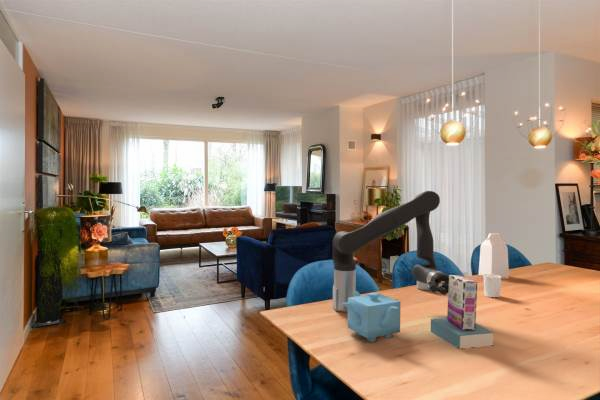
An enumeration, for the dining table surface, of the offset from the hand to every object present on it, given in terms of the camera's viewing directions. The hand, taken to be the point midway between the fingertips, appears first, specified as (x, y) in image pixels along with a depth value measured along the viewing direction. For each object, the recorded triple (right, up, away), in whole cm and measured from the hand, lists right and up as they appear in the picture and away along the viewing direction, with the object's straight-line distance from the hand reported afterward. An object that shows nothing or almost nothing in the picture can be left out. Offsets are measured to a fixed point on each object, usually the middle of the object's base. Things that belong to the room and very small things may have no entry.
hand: (457, 292), depth 136 cm
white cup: (+39, -15, +53) cm, 68 cm away
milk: (+62, -14, +98) cm, 117 cm away
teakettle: (-30, -15, 0) cm, 34 cm away
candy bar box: (+1, -11, -2) cm, 11 cm away
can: (+10, -14, +67) cm, 69 cm away
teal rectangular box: (0, -16, -2) cm, 16 cm away
